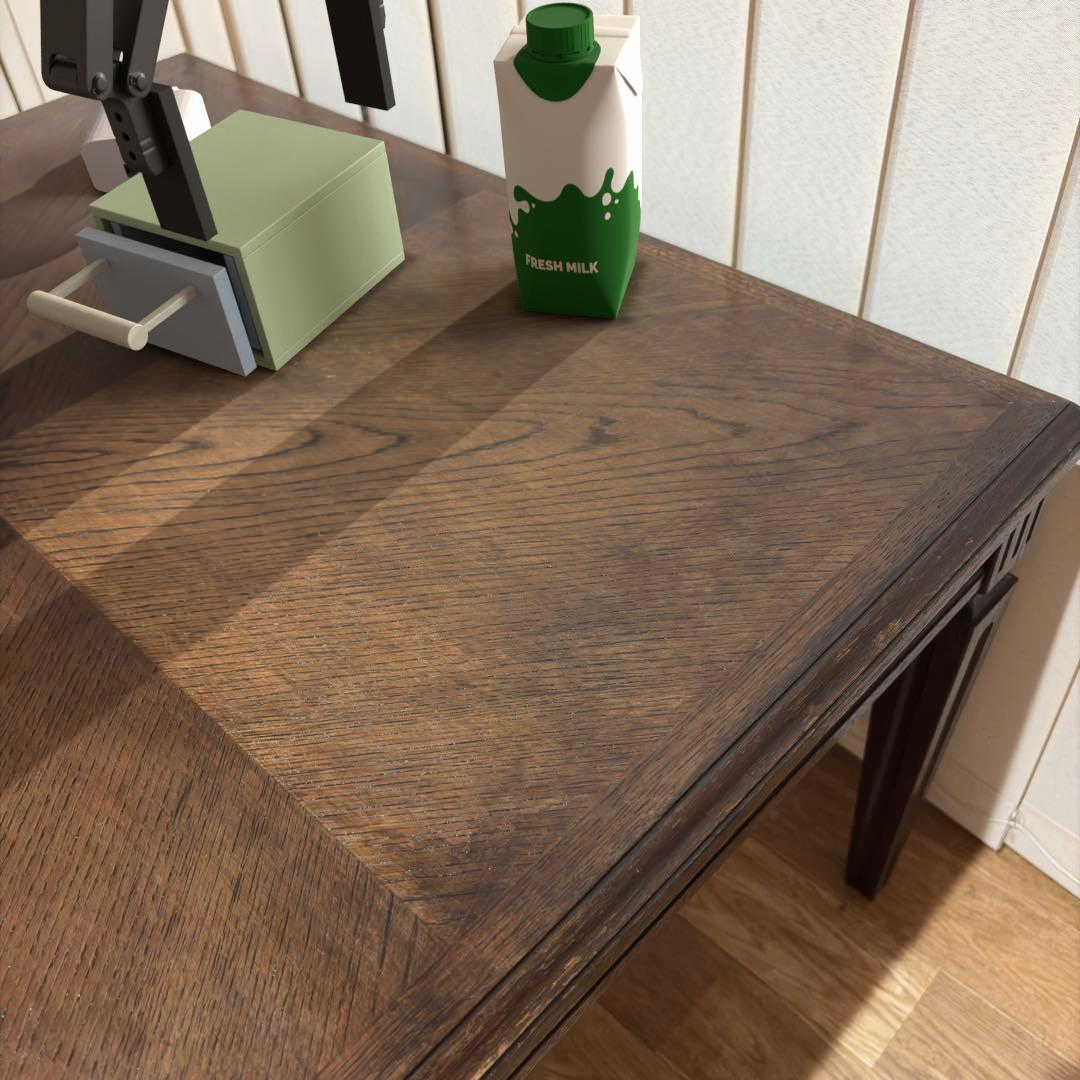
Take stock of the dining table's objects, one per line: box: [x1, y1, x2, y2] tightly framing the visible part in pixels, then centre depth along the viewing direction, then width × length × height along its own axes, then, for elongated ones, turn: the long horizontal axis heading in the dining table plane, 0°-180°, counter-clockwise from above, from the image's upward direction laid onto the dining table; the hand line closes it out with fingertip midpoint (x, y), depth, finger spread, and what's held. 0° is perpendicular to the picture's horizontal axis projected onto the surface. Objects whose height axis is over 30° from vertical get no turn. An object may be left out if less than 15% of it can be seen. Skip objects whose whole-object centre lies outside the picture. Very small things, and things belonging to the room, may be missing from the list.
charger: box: [80, 86, 212, 193], centre depth 97 cm, size 5×9×15 cm
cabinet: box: [88, 109, 406, 372], centre depth 77 cm, size 16×14×10 cm
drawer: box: [26, 221, 262, 377], centre depth 74 cm, size 21×12×8 cm, turn 150°
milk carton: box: [492, 1, 644, 320], centre depth 71 cm, size 9×9×20 cm
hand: (287, 163), depth 51 cm, fingers open, 13 cm apart
